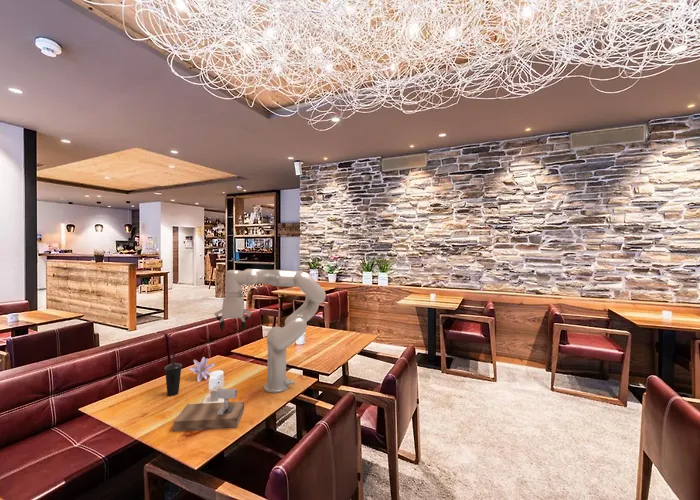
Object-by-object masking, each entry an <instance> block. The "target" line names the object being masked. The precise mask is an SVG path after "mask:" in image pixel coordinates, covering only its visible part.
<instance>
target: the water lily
mask: <svg viewBox="0 0 700 500" xmlns="http://www.w3.org/2000/svg"><path fill="white" fill-rule="evenodd" d="M208 361H209V358H206V357H205V356H203V357H202V358H201V359H200V362H199V361H198V360H197V359H193V363H194V365H195V366H190V367H188V370H189V371H192V372H193V374H197V376H196V377H197V378H196V379H197V380H196V381H197V382H198V383H200V382H201V381H202V379H203V378H204V379H205V380H207V379H208V376H210V375H209V374H210V373H211V372H212V371H210V369H212V368H213V367H214V366H215V363H210V364H208ZM207 364H208V365H207Z"/></svg>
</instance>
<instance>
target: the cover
mask: <svg viewBox="0 0 700 500" xmlns="http://www.w3.org/2000/svg"><path fill="white" fill-rule="evenodd" d="M217 389H222V388H221V385H218V386H217V385H215V386H213V387H212V389H211V391H210V394H207V395H206V397H205V398H204V400H203V401H202V403H222V402H224V398H216V390H217Z"/></svg>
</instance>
